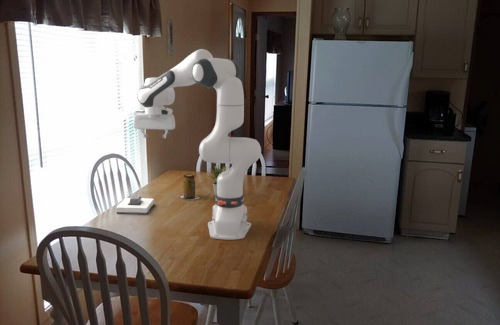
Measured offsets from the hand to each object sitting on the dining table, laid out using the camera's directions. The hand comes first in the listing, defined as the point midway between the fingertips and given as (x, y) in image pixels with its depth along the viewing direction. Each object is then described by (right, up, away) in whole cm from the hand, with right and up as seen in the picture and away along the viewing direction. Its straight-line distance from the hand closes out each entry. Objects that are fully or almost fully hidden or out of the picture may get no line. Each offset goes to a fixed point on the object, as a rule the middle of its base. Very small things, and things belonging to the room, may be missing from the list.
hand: (154, 137), depth 221 cm
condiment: (+17, -31, +8) cm, 36 cm away
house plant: (+32, -30, +13) cm, 45 cm away
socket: (-7, -34, -10) cm, 36 cm away
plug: (-7, -34, -10) cm, 36 cm away
